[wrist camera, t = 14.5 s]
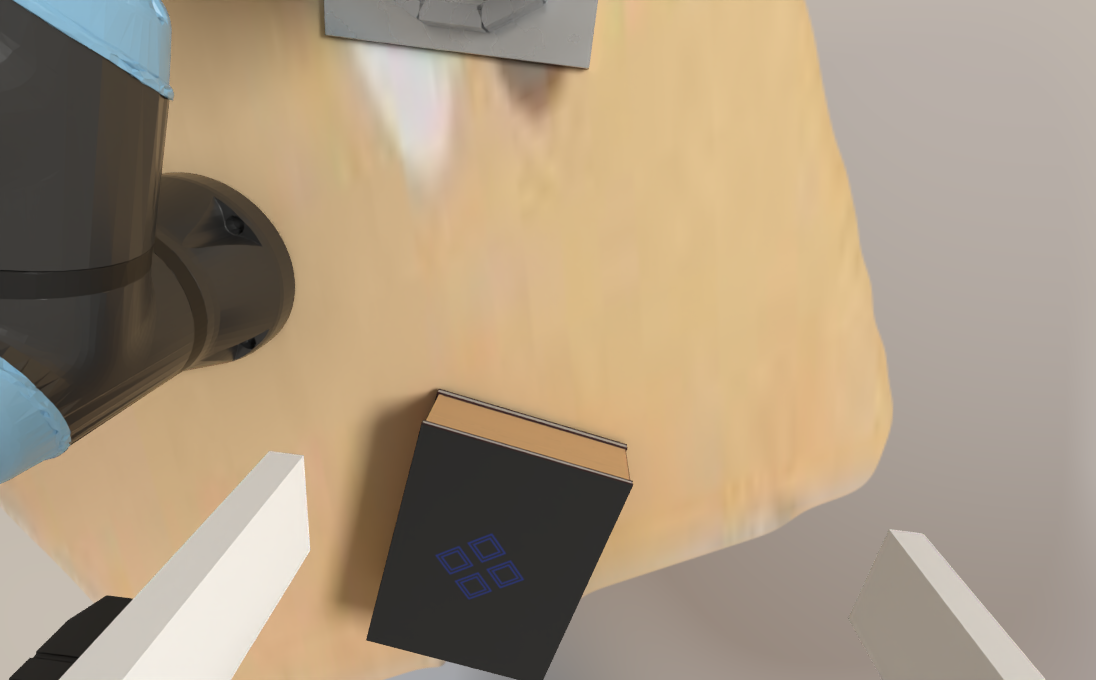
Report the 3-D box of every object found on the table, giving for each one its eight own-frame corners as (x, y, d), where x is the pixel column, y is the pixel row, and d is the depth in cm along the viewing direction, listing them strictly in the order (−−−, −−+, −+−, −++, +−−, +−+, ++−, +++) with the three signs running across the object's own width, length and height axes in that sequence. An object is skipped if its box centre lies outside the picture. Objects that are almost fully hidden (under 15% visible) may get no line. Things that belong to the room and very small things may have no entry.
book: (626, 439, 49) (633, 485, 42) (544, 626, 58) (541, 686, 52) (441, 384, 47) (421, 423, 41) (388, 584, 57) (365, 640, 51)
